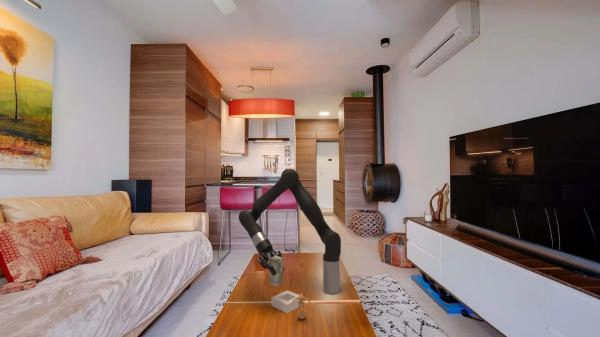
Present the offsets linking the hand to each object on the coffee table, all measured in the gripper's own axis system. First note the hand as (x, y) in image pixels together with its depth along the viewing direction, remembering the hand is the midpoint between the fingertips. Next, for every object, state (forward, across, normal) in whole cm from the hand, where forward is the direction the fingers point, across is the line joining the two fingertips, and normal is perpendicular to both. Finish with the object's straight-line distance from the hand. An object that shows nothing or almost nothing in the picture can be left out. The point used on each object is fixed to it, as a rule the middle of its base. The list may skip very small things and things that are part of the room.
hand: (279, 273), depth 121 cm
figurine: (+22, +2, +5) cm, 22 cm away
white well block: (+11, +8, +15) cm, 20 cm away
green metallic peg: (+2, 0, +5) cm, 6 cm away
